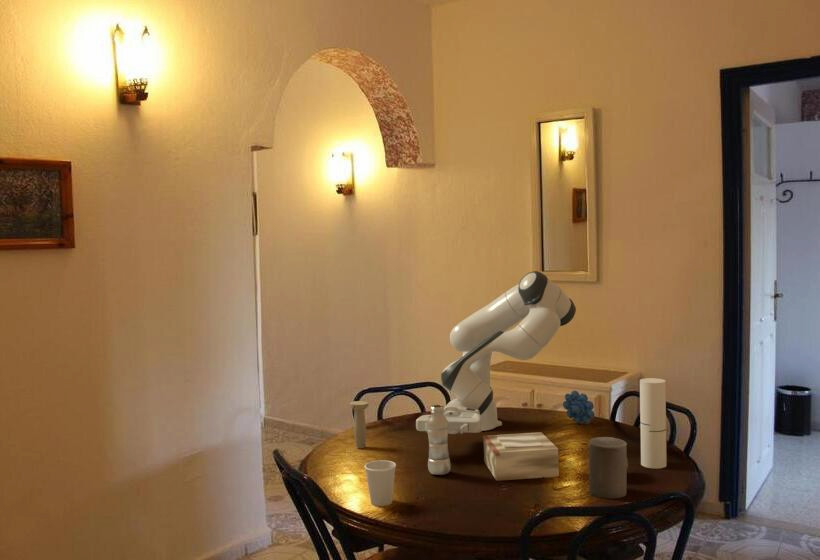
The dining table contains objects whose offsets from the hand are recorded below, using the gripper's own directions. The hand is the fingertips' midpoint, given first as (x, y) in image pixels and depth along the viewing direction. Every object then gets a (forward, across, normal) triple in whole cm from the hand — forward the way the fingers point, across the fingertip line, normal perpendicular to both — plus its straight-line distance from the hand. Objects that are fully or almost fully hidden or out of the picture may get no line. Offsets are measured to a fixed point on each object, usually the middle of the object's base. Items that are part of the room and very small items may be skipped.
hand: (444, 430), depth 226 cm
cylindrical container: (-10, +60, +12) cm, 62 cm away
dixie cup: (+32, -10, +11) cm, 35 cm away
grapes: (-54, +37, +11) cm, 67 cm away
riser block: (-1, +22, +11) cm, 25 cm away
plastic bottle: (+7, 0, +11) cm, 13 cm away
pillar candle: (+15, +47, +12) cm, 51 cm away
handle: (-16, -32, +11) cm, 37 cm away
